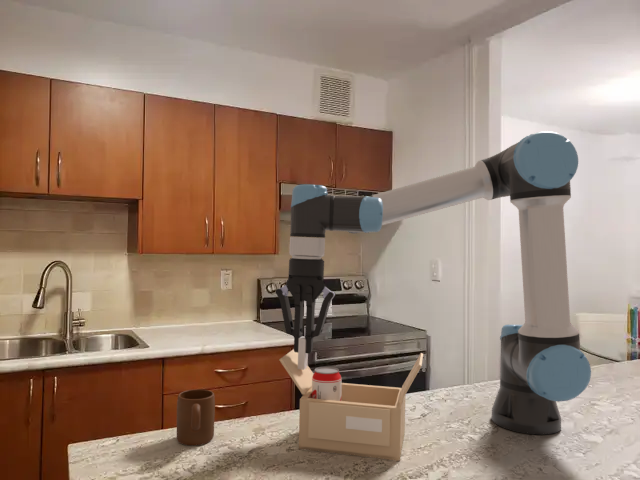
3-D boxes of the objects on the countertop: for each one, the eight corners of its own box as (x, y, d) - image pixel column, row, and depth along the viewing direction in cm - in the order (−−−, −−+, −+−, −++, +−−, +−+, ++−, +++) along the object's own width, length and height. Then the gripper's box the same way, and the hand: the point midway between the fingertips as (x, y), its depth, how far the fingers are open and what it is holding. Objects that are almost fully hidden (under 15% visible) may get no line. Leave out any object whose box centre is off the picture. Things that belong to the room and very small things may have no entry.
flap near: (402, 386, 111) (404, 387, 110) (398, 402, 100) (400, 403, 100) (421, 352, 110) (423, 353, 110) (419, 364, 99) (421, 365, 99)
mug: (215, 454, 100) (216, 405, 100) (174, 457, 98) (175, 407, 98) (213, 431, 111) (214, 388, 111) (177, 433, 110) (177, 389, 110)
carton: (404, 433, 112) (405, 387, 112) (399, 462, 98) (400, 409, 98) (315, 424, 117) (316, 380, 117) (298, 450, 102) (299, 400, 102)
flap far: (304, 393, 104) (302, 394, 104) (317, 379, 115) (315, 380, 115) (281, 358, 105) (279, 359, 105) (295, 347, 116) (293, 348, 116)
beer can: (343, 441, 110) (343, 366, 110) (339, 453, 104) (339, 374, 104) (314, 439, 111) (314, 365, 111) (308, 451, 105) (309, 372, 105)
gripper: (340, 258, 112) (335, 366, 112) (282, 255, 115) (278, 361, 115) (333, 259, 105) (328, 375, 105) (272, 256, 108) (267, 369, 108)
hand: (302, 367), depth 110 cm, fingers closed
